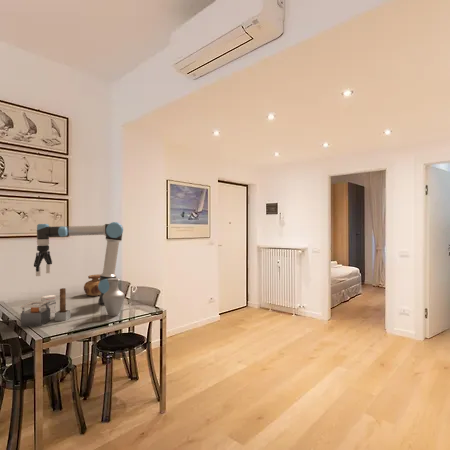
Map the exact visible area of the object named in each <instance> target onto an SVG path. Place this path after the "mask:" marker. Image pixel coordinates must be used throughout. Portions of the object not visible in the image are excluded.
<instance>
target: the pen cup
mask: <svg viewBox="0 0 450 450" xmlns="http://www.w3.org/2000/svg"><path fill="white" fill-rule="evenodd" d="M70 318H71V309H66V312H65V313H60V309H59V310H58V311H56V312H54V321H55V322H59V321H60V322H61V321H68V320H69V319H70Z"/></svg>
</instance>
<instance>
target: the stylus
mask: <svg viewBox="0 0 450 450" xmlns="http://www.w3.org/2000/svg"><path fill="white" fill-rule="evenodd" d="M66 291H67V289H66V288H64V287H63V288H60V289H59V310H60V313H65V312H66V310H67V307H66V306H67V303H66V302H67V301H66V299H67V297H66Z"/></svg>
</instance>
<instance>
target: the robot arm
mask: <svg viewBox="0 0 450 450" xmlns="http://www.w3.org/2000/svg"><path fill="white" fill-rule="evenodd" d="M123 232H124V227H123V225H122V224H121V223H119V222H117V221H112V222H109V223H105V224H102V225H101V224H100V225H69V226H67V225H65V226H64V225H63V226H62V225H60V226H59V225H57V226H50V224H49V223H38V224H37V225H36V245H37V246H36V251H38V252H36V254H35V259H34V263H33V268H35V276H36V277H41V263H42V261H43V259H44V261H45V263H46V266H45V273H46V274H51V265H52V264H53V260H52V256H51V252H50V246H49V244H50V238H55V237H57V238H59V237H60V238H63V237H79V236H105V241H106V246H105V255H104V261H103V262H104V263H103V269H102V273H101V274H99V275H100V278H99V279H100V281H99V284H98V289H99V291H100V292H101V294H100V295H99V298H98V303H97V304H98V305H101V306H102V305H103V306H105V305H104V302H103V295H104V294H105V293H106V292H107V291H108V290H109V282H108V280H107V279H109V278H117V275H116V267H117V259H118V253H119V246H120V243H121V242H122V239H123Z"/></svg>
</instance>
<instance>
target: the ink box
mask: <svg viewBox="0 0 450 450" xmlns="http://www.w3.org/2000/svg"><path fill="white" fill-rule="evenodd" d="M40 301H50V303H49V308H50V314H53V313H56V312H57V295H56V294H50V295H44V296H41V297H40ZM41 308H47V305H45V306H43V307H41Z"/></svg>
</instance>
